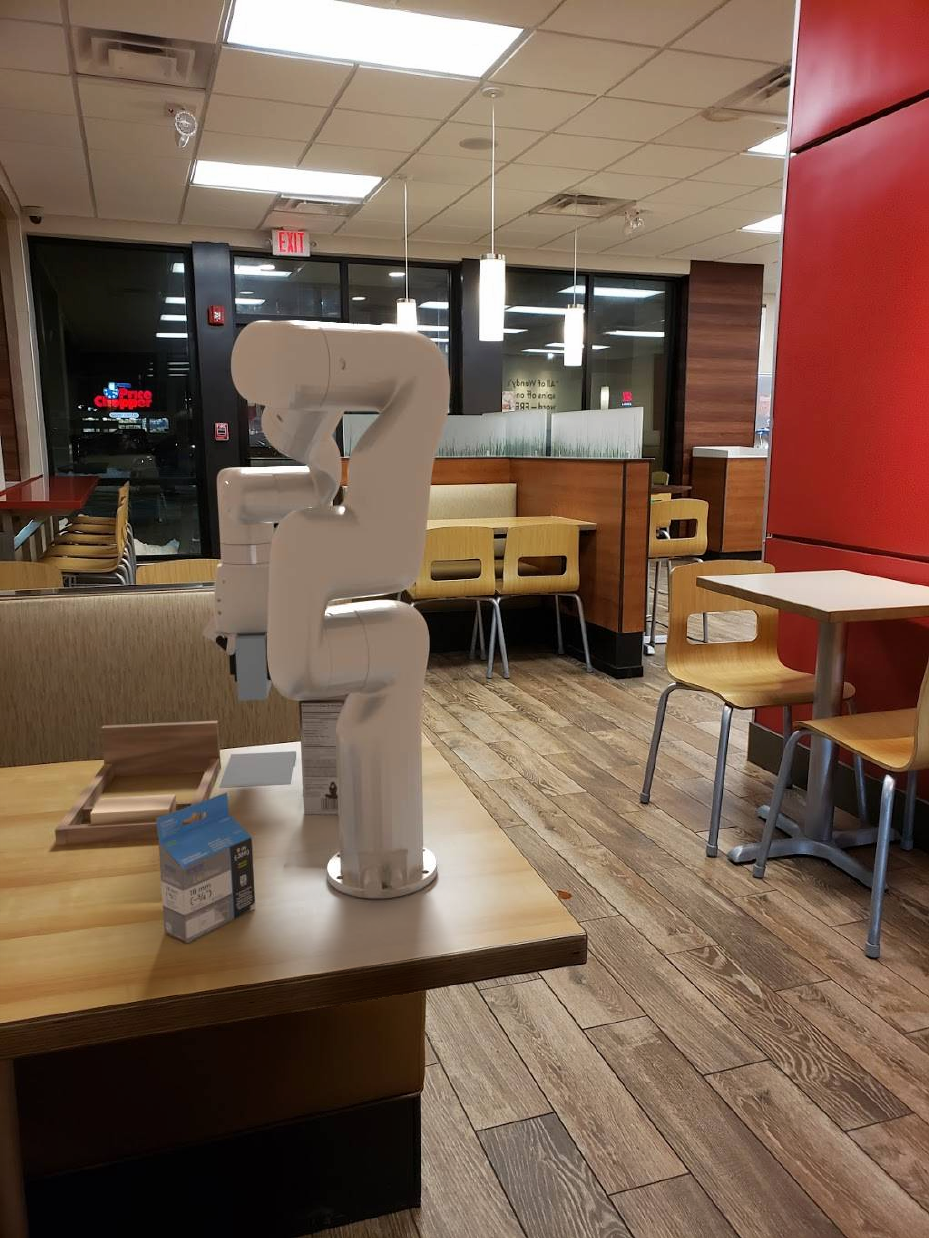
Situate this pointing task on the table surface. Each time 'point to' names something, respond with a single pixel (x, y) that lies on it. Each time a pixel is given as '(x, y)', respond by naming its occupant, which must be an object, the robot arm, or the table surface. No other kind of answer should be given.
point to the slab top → (132, 808)
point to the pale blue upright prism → (252, 667)
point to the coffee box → (320, 753)
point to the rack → (144, 755)
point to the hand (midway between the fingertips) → (254, 677)
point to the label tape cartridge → (204, 869)
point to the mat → (259, 769)
